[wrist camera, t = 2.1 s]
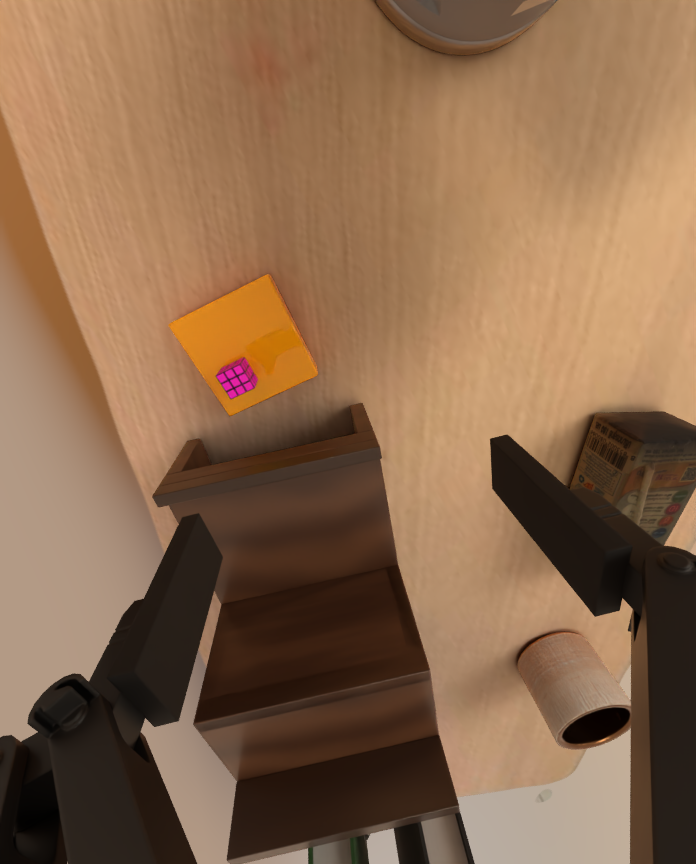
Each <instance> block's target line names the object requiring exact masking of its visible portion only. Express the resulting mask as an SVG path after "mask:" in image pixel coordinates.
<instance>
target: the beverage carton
mask: <svg viewBox="0 0 696 864" xmlns="http://www.w3.org/2000/svg"><path fill="white" fill-rule="evenodd" d="M580 487H585V488H587V489H590V490H592V491H594V492H596V493H599V494H600V495H601V496H603V497H604V498H605V499H606V500H608V501H609V502H610V503H611V504H612V506H615V507H616V508H617V509H619V510H620V511H621V512H622V514H625V515H626V516H627V517H629V518H630V519H631V520H632V521H633V522H635V523H636V524H637V525H638V526H640V527H641V528H642V529H643V530H645V531H646V532H647V533H648V534H650V535H651V536H652V537H653V538H654V539H656V540H657V541H658V542H659V543H661V544H662V545H663V546H664V544H665V542H666V540H667V539H668V537H669V535H670V534H671V532H672V530H673V528H674V526H675V525H676V523H677V521H678V519H679V517H680V516H681V514H682V512H683V510H684V508H685V506H686V505H687V503H688V501H689V499H690V497H691V495H692V494H693V492H694V490H695V488H696V426H695V425H692V424H690V423H688V422H686V421H684V420H681V419H679V418H677V417H675V416H673V415H670V414H668V413H666V412H621V413H614V412H612V413H596V414H595V416H594V420H593V422H592V425H591V427H590V430H589V433H588V436H587V439H586V442H585V445H584V448H583V451H582V454H581V456H580V459H579V463H578V466H577V469H576V471H575V474H574V477H573V480H572V483H571V486H570V489H569V490H572V489H576V488H580Z"/></svg>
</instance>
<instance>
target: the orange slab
mask: <svg viewBox="0 0 696 864" xmlns="http://www.w3.org/2000/svg"><path fill="white" fill-rule="evenodd" d="M168 326H169V327H170V329H171V330H172V332H173V333H174V335H175V336H176V338H177V339H178V341H179V342H180V344H181V345H182V347H183V348H184V350H185V351H186V353H187V354H188V356H189V357H190V358H191V360H192V361H193V363H194V364H195V366H196V367H197V369H198V370H199V372H200V373H201V375H202V376H203V378H204V379H205V381H206V382H207V384H208V385H209V387H210V388H211V390H212V391H213V393H214V394H215V396H216V397H217V398H218V400H219V401H220V403H221V404H222V406H223V407H224V409H225V410H226V412H227V413H228V415H229V416H232V415H234V414H236V413H239V412H241V411H243V410H245V409H247V408H249V407H251V406H253V405H256V404H258V403H260V402H262V401H264V400H266V399H268V398H271V397H273V396H275V395H277V394H279V393H281V392H283V391H285V390H288V389H290V388H292V387H294V386H296V385H298V384H300V383H303V382H305V381H307V380H309V379H311V378H313V377H315V376H317V375H318V370H317V365H316V363H315V361H314V359H313V357H312V355H311V353H310V351H309V349H308V347H307V345H306V343H305V341H304V339H303V337H302V335H301V334H300V332H299V330H298V328H297V326H296V324H295V322H294V320H293V318H292V316H291V314H290V312H289V310H288V308H287V306H286V304H285V302H284V300H283V298H282V296H281V294H280V292H279V290H278V288H277V286H276V284H275V282H274V280H273V278H272V276H271V274H267V275H264V276H263V277H261V278H259V279H257V280H255V281H253V282H251V283H249V284H247V285H245V286H243V287H241V288H239V289H237V290H235V291H233V292H231V293H229V294H227V295H225V296H223V297H221V298H219V299H217V300H215V301H213V302H211V303H209V304H207V305H205V306H203V307H201V308H199V309H197V310H195V311H193V312H191V313H189V314H187V315H185V316H183V317H181V318H179V319H177V320H175V321H173V322H171V323H169V325H168Z"/></svg>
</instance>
